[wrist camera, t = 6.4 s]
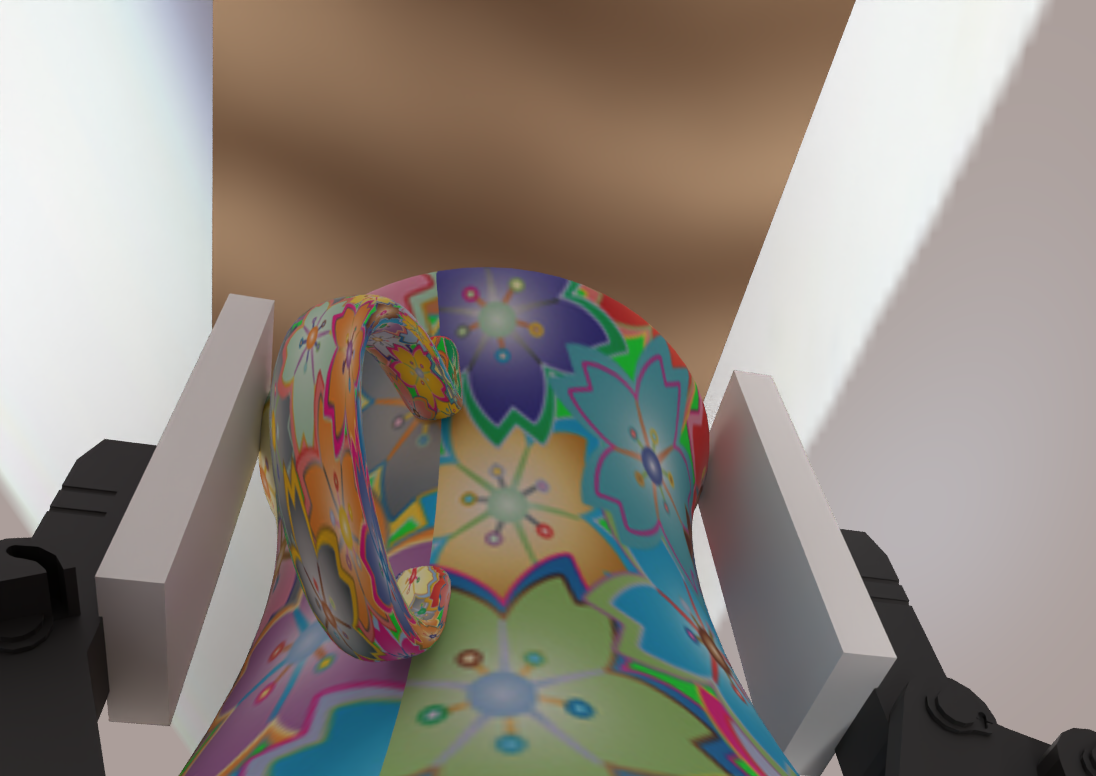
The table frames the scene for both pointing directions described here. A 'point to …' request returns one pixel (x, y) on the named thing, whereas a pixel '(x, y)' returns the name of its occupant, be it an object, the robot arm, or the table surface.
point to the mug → (484, 547)
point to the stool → (511, 147)
